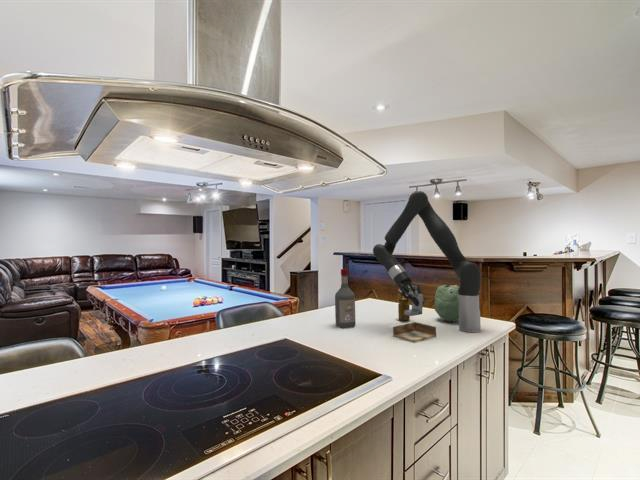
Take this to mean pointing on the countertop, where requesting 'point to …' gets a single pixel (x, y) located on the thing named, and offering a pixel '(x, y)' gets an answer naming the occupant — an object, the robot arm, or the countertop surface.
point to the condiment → (402, 307)
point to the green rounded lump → (447, 302)
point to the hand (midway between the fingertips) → (420, 304)
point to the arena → (414, 336)
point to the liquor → (345, 303)
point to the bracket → (416, 309)
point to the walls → (414, 328)
